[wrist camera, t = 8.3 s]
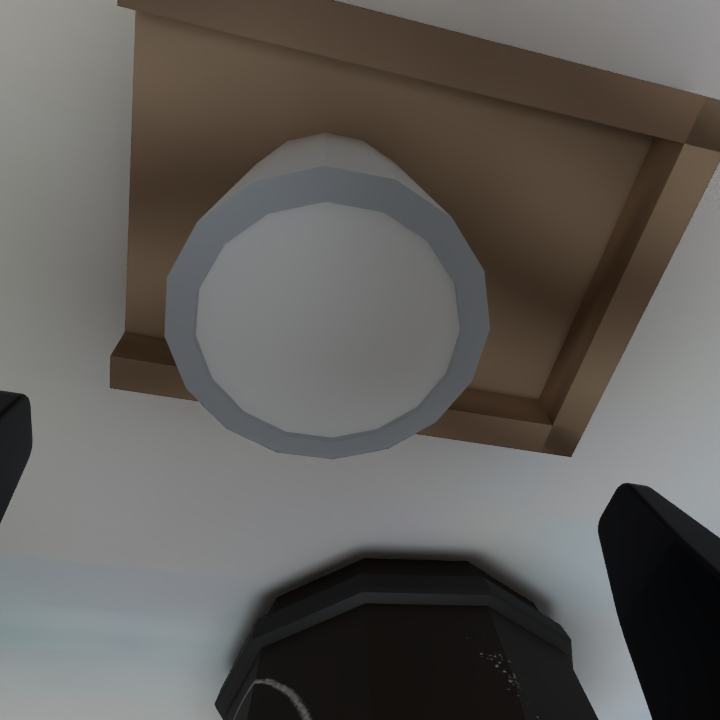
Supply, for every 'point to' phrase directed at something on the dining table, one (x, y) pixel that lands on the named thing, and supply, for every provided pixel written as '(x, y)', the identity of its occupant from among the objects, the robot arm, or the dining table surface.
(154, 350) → the tray
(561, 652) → the black ribbed pot
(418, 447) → the dining table surface
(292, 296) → the shot glass
